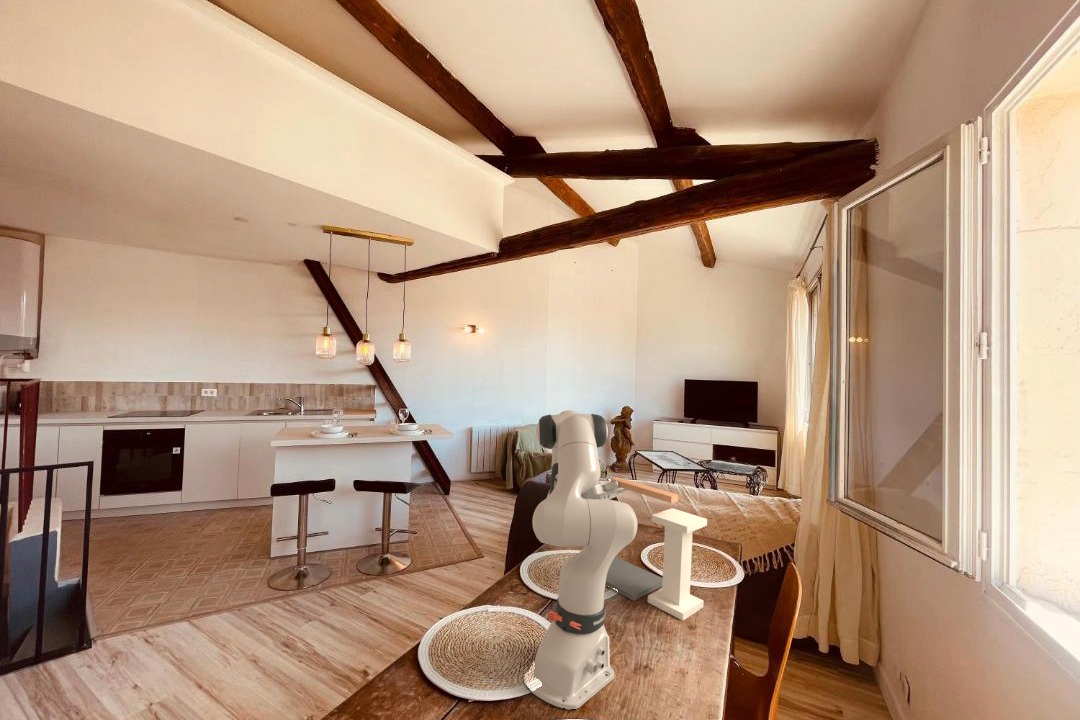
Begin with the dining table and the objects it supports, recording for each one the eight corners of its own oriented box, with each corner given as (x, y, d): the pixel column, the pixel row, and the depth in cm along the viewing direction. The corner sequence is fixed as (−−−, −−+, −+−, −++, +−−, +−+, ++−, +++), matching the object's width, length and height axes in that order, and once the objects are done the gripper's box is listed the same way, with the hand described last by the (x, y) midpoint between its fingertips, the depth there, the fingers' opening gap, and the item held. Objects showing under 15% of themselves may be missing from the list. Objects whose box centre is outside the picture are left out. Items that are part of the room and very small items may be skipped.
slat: (610, 484, 150) (611, 478, 150) (617, 482, 153) (618, 477, 153) (671, 503, 132) (671, 496, 132) (678, 501, 135) (678, 494, 135)
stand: (647, 602, 132) (651, 514, 132) (668, 590, 140) (672, 508, 140) (682, 620, 123) (687, 526, 123) (703, 607, 131) (707, 519, 131)
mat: (573, 568, 151) (573, 564, 151) (606, 556, 163) (606, 552, 163) (633, 601, 132) (633, 596, 132) (665, 584, 144) (665, 579, 144)
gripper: (573, 488, 152) (600, 476, 143) (610, 481, 165) (636, 470, 156) (579, 506, 149) (606, 495, 141) (616, 497, 163) (643, 486, 154)
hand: (623, 482), depth 149 cm, fingers closed on slat, 4 cm apart
